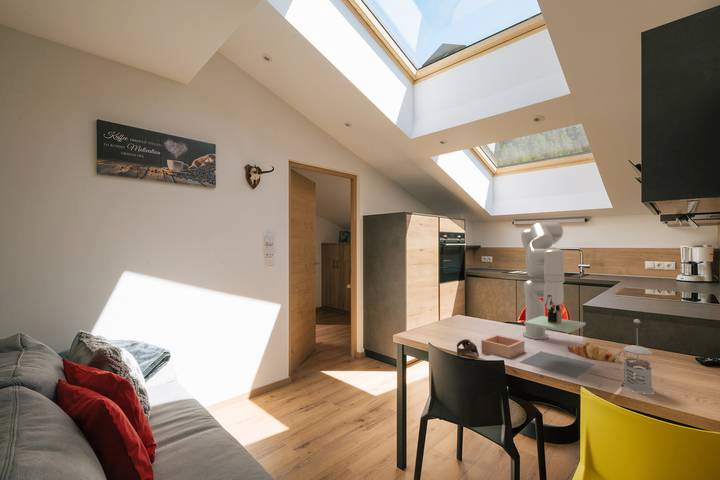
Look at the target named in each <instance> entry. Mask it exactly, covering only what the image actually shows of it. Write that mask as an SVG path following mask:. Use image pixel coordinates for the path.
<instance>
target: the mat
mask: <svg viewBox="0 0 720 480" xmlns="http://www.w3.org/2000/svg"><path fill="white" fill-rule="evenodd" d="M518 363H520V364H523V365H527V366H531V367H535V368H538V369H542V370H546V371H550V372H553V373H556V374H560V375H565V376H568V377H570V378H571V377H573V378H575V379H576V378H579V377H580V376H581V375H582V374H584V373H585V372H586V371H588V370H589V369H591V368H592V367H593V366H594V365H596V364H595V363H593V362H588V361H584V360H580V359H576V358H571V357H567V356H564V355H563V356H562V355H559V354H556V353H555V354H554V353H549V352H545V351H539V352H537V353H534V354H533V355H531V356H529V357H527V358H524V359H523V360H521V361H519V362H518Z"/></svg>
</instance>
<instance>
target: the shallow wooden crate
mask: <svg viewBox="0 0 720 480" xmlns="http://www.w3.org/2000/svg"><path fill="white" fill-rule="evenodd" d="M524 352H525V340H522V339H517V338H512V337H509V336H503V335H499V334H495V335H492V336H490V337H487V338H484V339H481V354H485V355H489V356H492V355H497V356H501V357H504V358H507V359H512V358H514V357H516V356H518V355H520V354H522V353H524Z"/></svg>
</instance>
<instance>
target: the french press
mask: <svg viewBox="0 0 720 480" xmlns="http://www.w3.org/2000/svg"><path fill="white" fill-rule="evenodd" d="M633 323H635V324H641V321H640V319H637V318H636V319H633ZM638 332H639V331H638V329H636V345H633V344H632V345H626V346H625V347H623V348H622V349H623V350H621V351H618V352H617V354H615V355H616V362H615V363H616V365H617V367H618V368H619V369H620V370H621V371H623V383H622V384H621V385H620V387H621V386H622V387H621V388H623V389H624V388H625V389H624V390H626V389H628V390H627V391H629V390H630V391H629V392H632V391H634V392H633V393H635V392H638V393H637V394H640V393H645V394H644V395H653V394H652V393H654V392H656V390H655V389H654V388H653V387H652V383H653V382H652V381H653V380H652V367H651V366H650V365H651V363H650V362H649V361H648V360H644V359H639V356H650V355H652V354H653V352H652V351H651V350H649V349H648V348H646V347H645V346H640V345H639V344H638V343H639V341H638V338H639V337H638ZM622 353H623V355H624V356H626V355H628V353H630V354H634V355H636V358H633V357H628V358H624V361H625V362H624V363H623V365H622V362H621V363H620V360H621V359H620V360H619V364H618V363H617V357H620V356H621V354H622ZM619 365H620V366H619ZM641 367H642V368H641ZM654 390H655V391H654ZM654 394H655V393H654Z"/></svg>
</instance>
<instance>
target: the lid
mask: <svg viewBox="0 0 720 480" xmlns="http://www.w3.org/2000/svg"><path fill="white" fill-rule="evenodd" d="M556 313H557V322H556V323H555V322H549V321H548V316H546V315H545V316H539V317H537V318H534V319H531V320H528V321H526V320H525V321H524V322H523V324H524V325H525V326H526V325H530V326H535V327H541V328H546V329H547V330H553V331H558V332H564V333H569V334H571V333H573V332H575V331H576V330H579V329H580V328H581V329H582V328H583V327H585V326H587V325H586V324H587V322H583V321H577V320H572V319H571V320H570V319H564V318H562V310H561V311H559V310H556Z"/></svg>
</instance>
